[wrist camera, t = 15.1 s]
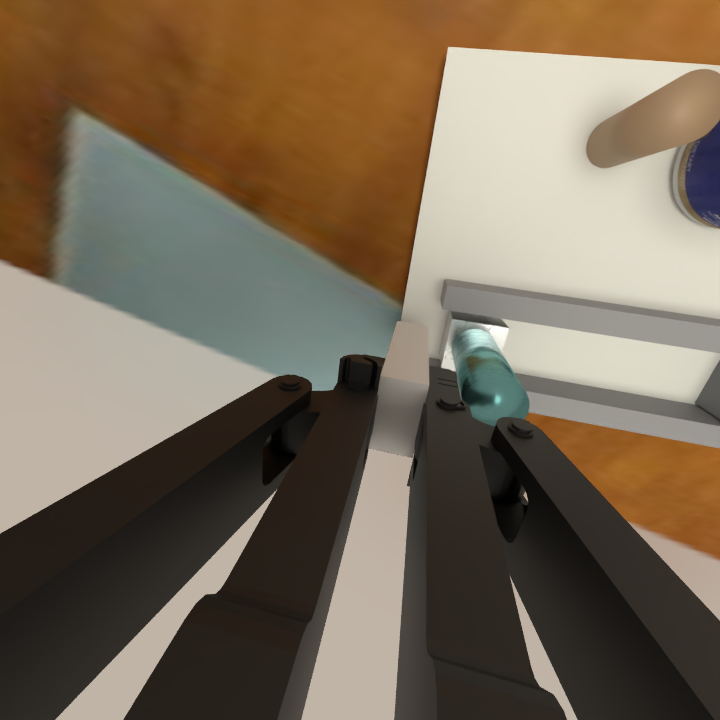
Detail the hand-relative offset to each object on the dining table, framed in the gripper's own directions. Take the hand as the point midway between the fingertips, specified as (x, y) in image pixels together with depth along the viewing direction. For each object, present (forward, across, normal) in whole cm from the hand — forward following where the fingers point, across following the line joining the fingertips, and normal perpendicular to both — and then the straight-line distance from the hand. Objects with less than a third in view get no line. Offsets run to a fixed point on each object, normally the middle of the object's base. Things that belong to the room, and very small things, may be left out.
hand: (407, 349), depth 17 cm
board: (+5, +9, +5) cm, 12 cm away
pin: (+4, +3, 0) cm, 5 cm away
